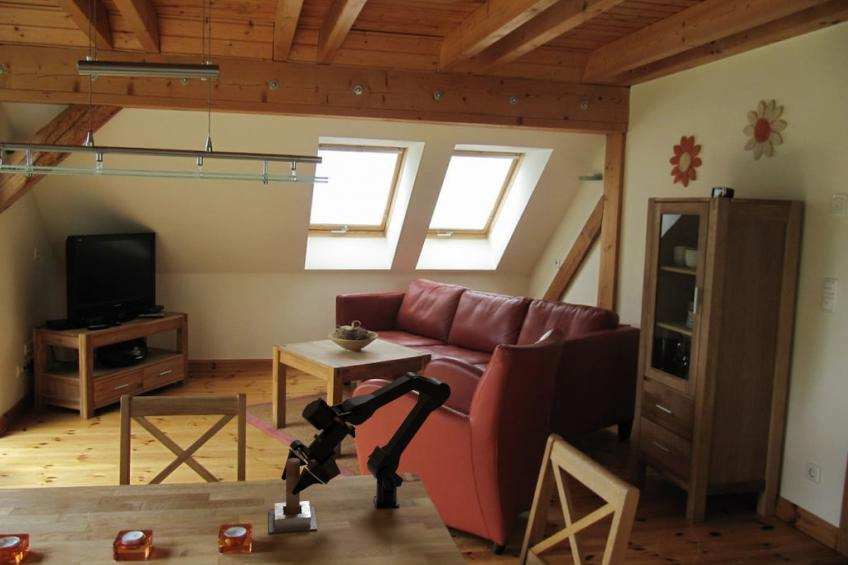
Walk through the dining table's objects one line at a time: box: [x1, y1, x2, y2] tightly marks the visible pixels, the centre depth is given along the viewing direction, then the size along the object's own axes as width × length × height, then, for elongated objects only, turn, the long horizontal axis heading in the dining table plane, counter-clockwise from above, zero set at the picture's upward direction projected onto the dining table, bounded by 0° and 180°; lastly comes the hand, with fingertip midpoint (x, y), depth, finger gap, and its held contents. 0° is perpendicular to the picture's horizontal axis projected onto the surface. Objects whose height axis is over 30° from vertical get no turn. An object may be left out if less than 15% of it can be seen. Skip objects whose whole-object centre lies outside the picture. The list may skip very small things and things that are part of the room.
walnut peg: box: [285, 458, 301, 515], centre depth 182 cm, size 4×4×16 cm
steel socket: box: [268, 500, 318, 535], centre depth 183 cm, size 12×12×3 cm
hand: (287, 486), depth 181 cm, fingers open, 9 cm apart
